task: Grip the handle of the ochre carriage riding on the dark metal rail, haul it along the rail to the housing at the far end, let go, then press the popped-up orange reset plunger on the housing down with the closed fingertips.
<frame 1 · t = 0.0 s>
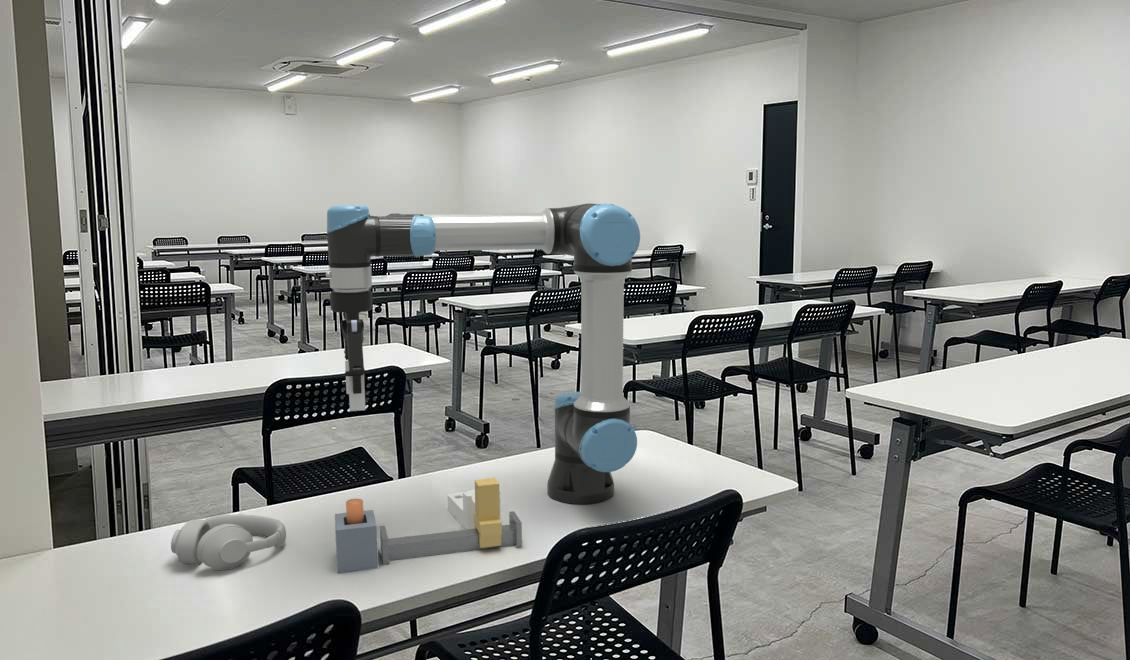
hand: (355, 401, 158), 28 cm above the table, fingers open, 13 cm apart
plunger: (355, 514, 152), point 9 cm above the table, slide at 0.0 cm
housing: (357, 561, 154), on the table
carriage: (487, 511, 160), point 7 cm above the table, slide at 0.0 cm
rail: (451, 549, 159), on the table
headphones: (231, 554, 158), on the table
bracket: (473, 518, 175), on the table
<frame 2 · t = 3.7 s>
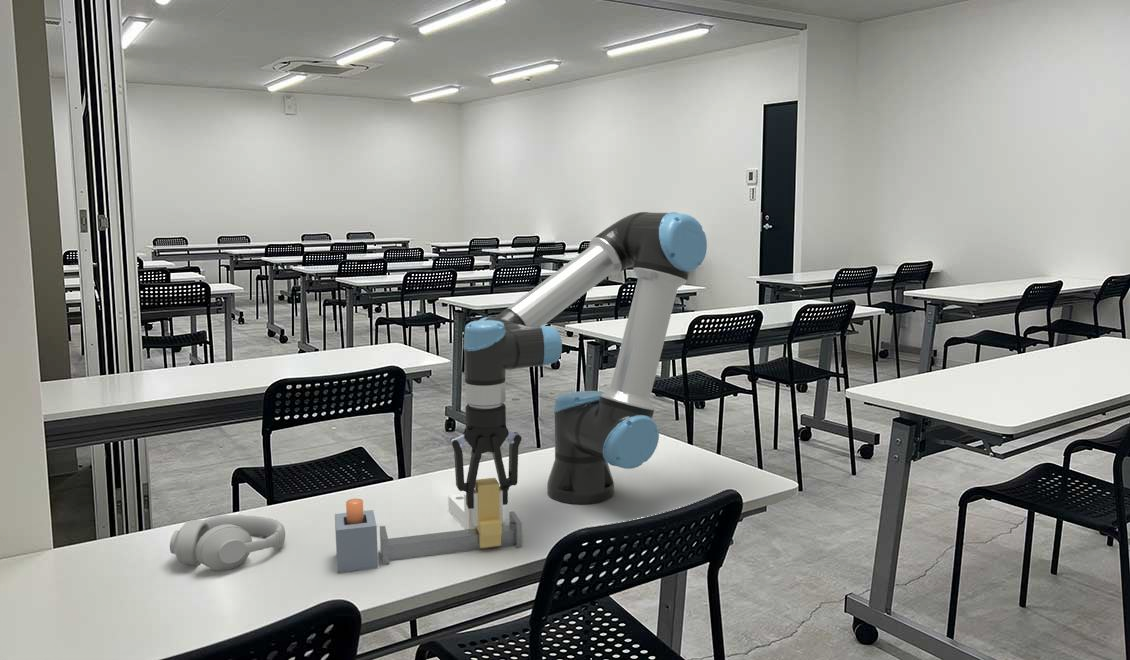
hand: (487, 522, 160), 5 cm above the table, fingers closed on carriage, 4 cm apart
carriage: (487, 511, 160), point 7 cm above the table, slide at 0.0 cm, touching gripper
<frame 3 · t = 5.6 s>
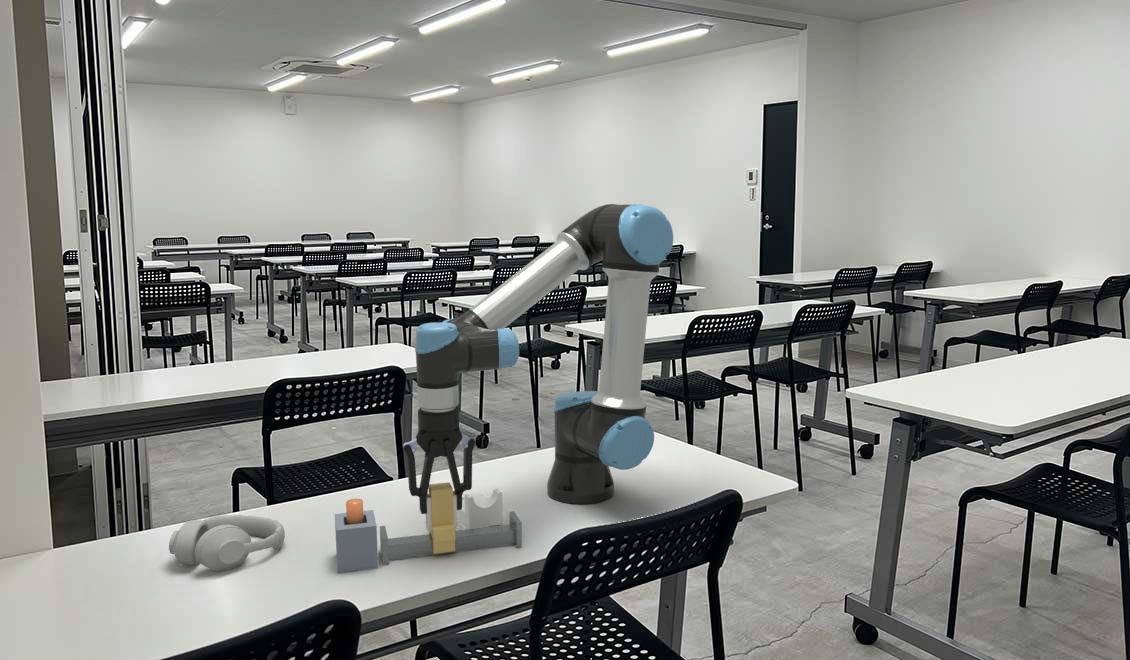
hand: (441, 527, 158), 5 cm above the table, fingers closed on carriage, 4 cm apart
carriage: (441, 516, 157), point 7 cm above the table, slide at 8.8 cm, touching gripper
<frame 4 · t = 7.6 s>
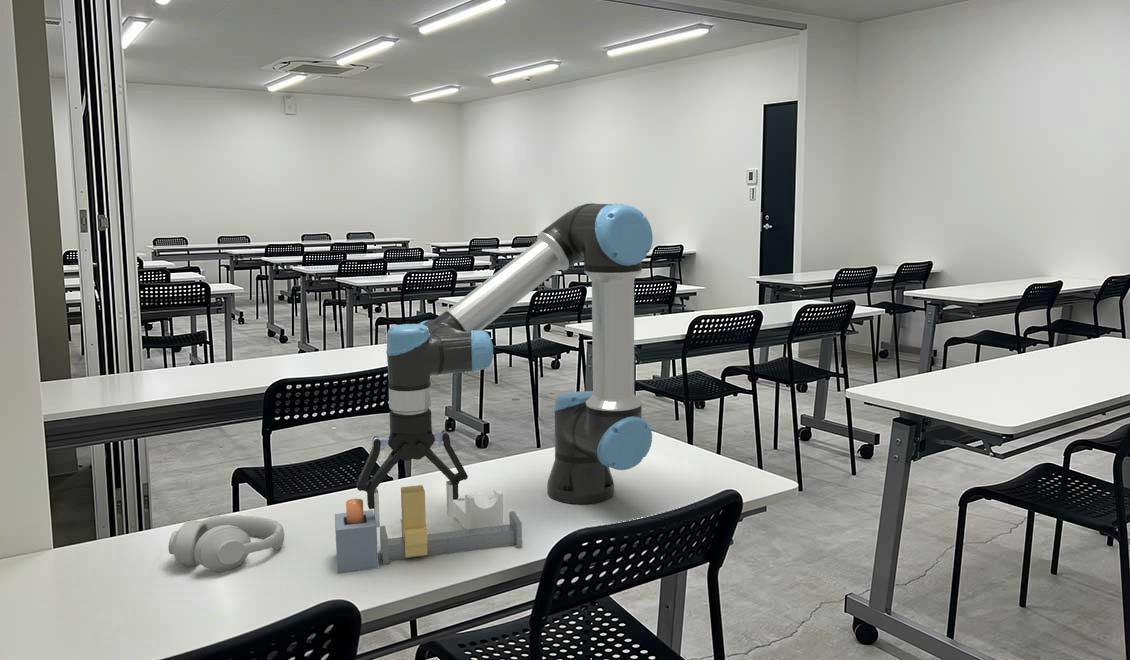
hand: (414, 520, 156), 7 cm above the table, fingers open, 13 cm apart
carriage: (413, 519, 156), point 7 cm above the table, slide at 14.0 cm
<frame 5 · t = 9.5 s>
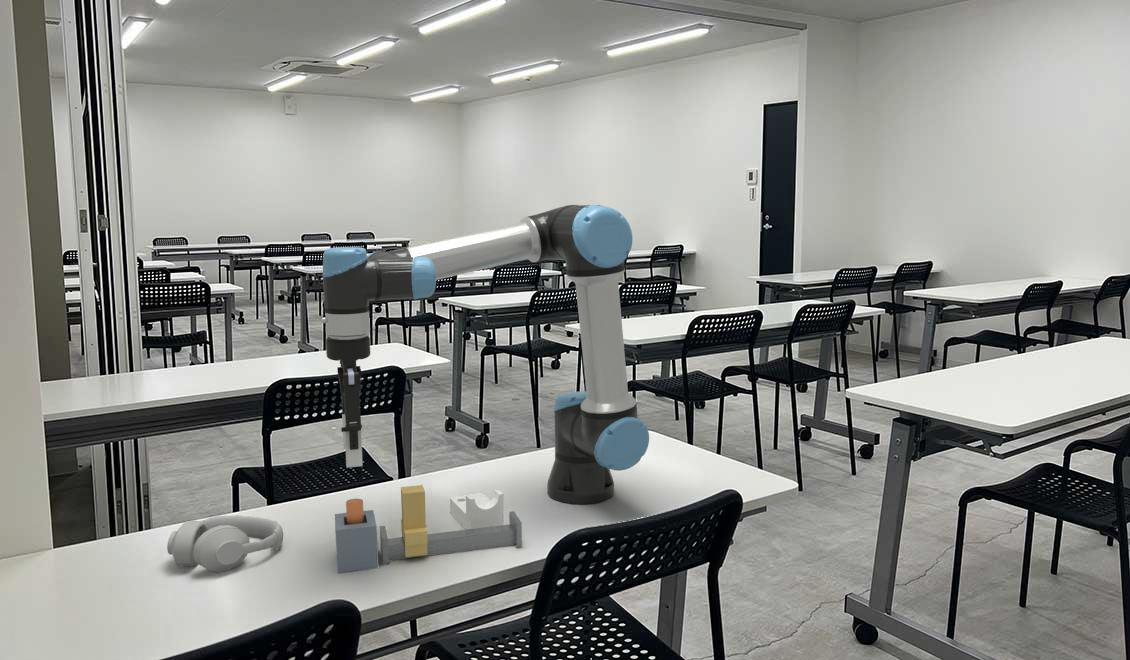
hand: (352, 456, 151), 20 cm above the table, fingers open, 10 cm apart
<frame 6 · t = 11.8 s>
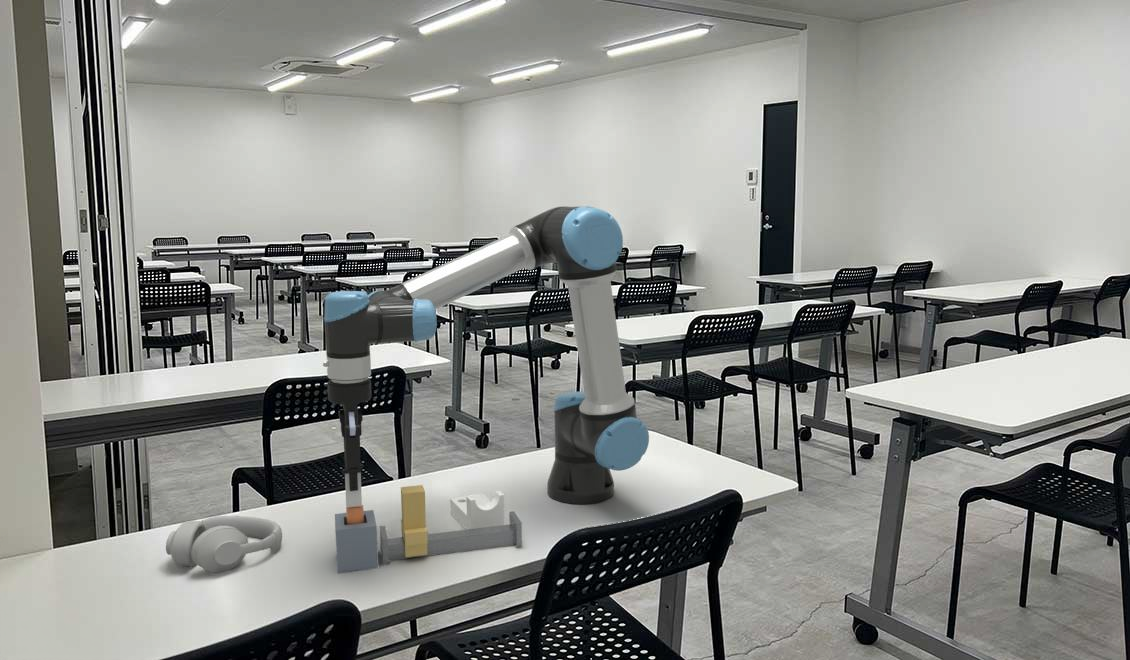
hand: (354, 505, 152), 11 cm above the table, fingers closed
plunger: (355, 519, 153), point 8 cm above the table, slide at 1.0 cm, touching gripper
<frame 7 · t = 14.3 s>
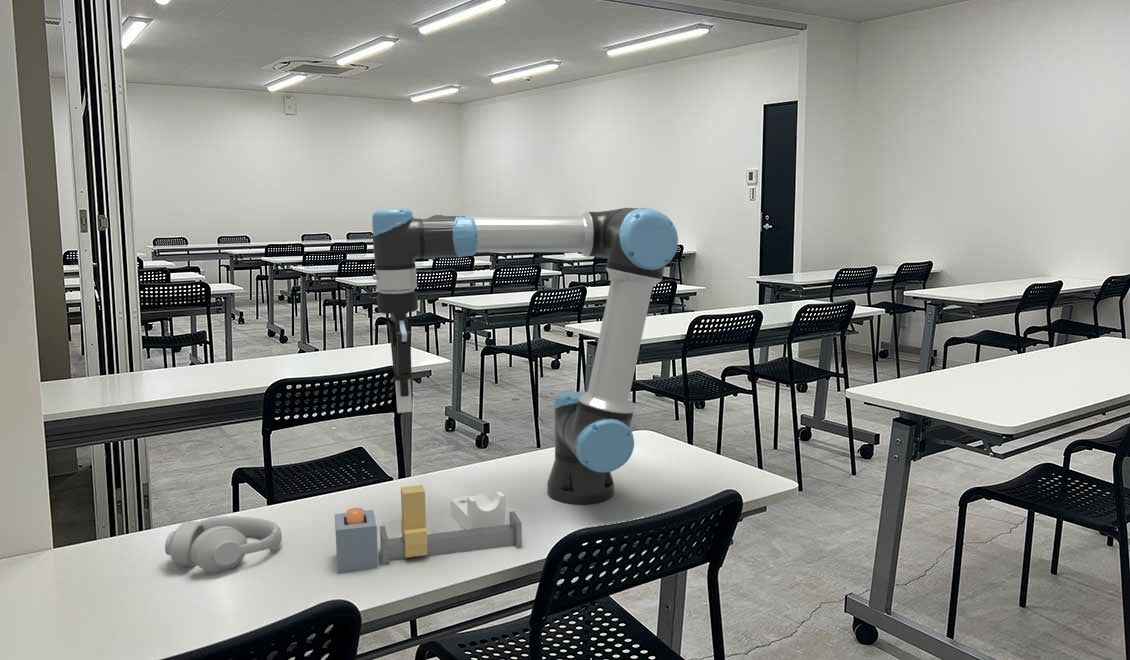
hand: (404, 411, 163), 25 cm above the table, fingers closed
plunger: (355, 523, 153), point 7 cm above the table, slide at 1.8 cm
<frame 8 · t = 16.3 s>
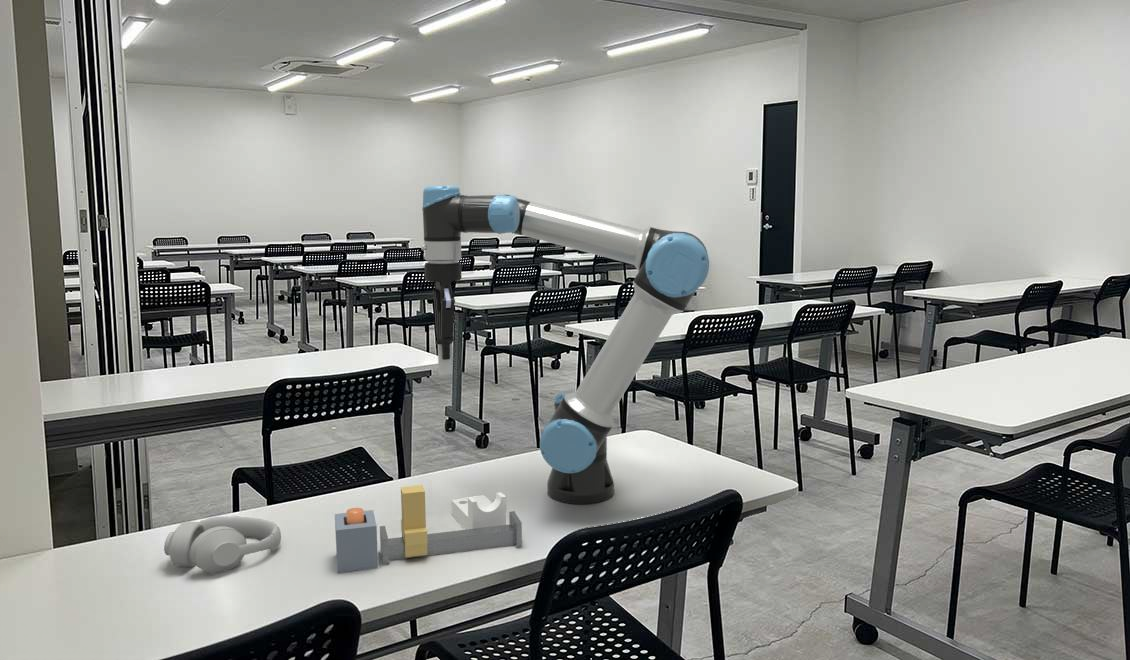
hand: (445, 373, 176), 29 cm above the table, fingers closed
at the end: carriage slide at 14.0 cm; plunger slide at 1.8 cm; the gripper is holding nothing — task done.
